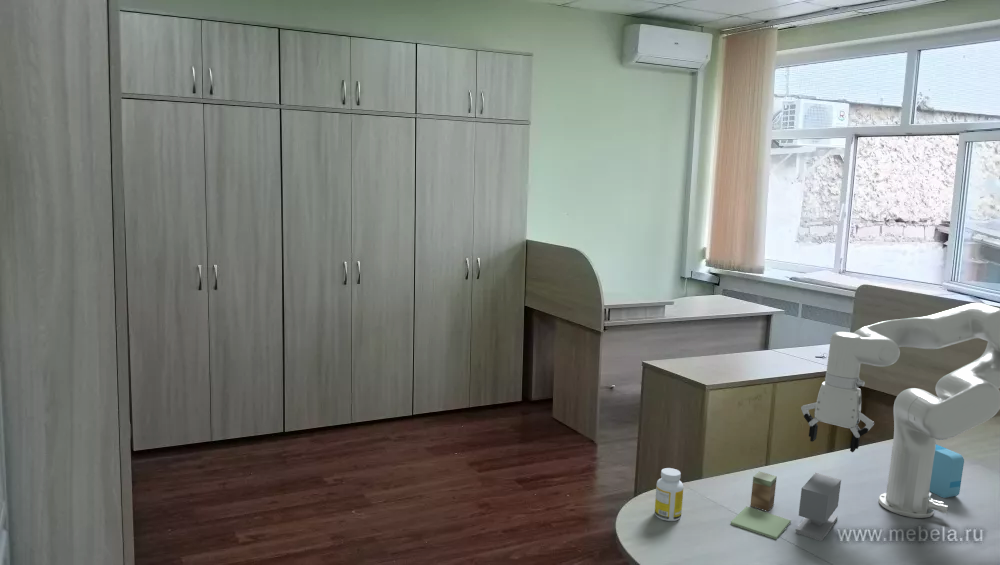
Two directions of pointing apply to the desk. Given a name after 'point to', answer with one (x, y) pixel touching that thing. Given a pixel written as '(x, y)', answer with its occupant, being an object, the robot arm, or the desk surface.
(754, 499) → the brown and green block
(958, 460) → the data package
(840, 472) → the desk surface
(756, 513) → the mat
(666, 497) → the pill bottle
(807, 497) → the mounted unit
